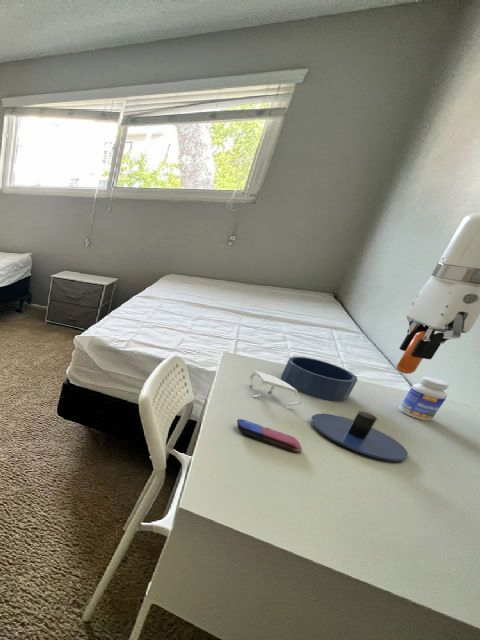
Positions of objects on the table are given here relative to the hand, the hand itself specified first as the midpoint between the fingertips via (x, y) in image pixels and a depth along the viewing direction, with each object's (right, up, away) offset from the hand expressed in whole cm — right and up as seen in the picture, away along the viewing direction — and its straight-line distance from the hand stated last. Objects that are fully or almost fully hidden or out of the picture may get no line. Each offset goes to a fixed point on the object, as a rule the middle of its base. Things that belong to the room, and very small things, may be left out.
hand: (414, 353), depth 78 cm
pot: (-5, -11, +18) cm, 22 cm away
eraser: (-38, -18, -5) cm, 42 cm away
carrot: (0, -5, +2) cm, 5 cm away
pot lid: (-16, -18, -3) cm, 24 cm away
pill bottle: (+11, -16, +8) cm, 21 cm away
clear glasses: (-23, -13, +11) cm, 29 cm away
